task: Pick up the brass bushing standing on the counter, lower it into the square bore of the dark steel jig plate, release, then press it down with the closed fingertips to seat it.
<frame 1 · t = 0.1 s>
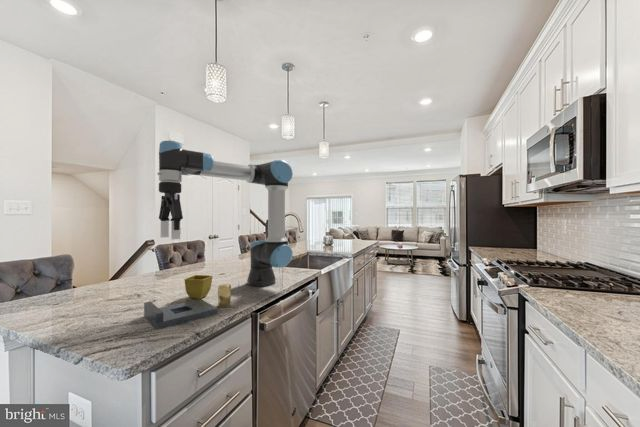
hand: (169, 238, 101), 28 cm above the counter, fingers open, 13 cm apart
jig: (181, 315, 97), on the counter
bushing: (224, 305, 108), on the counter
flower pot: (198, 297, 119), on the counter
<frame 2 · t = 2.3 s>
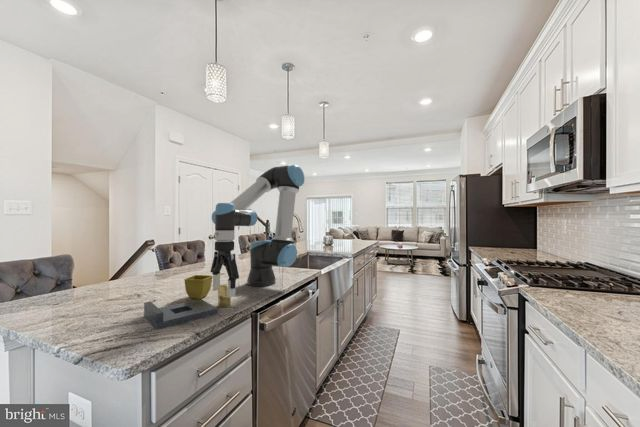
hand: (223, 293, 108), 5 cm above the counter, fingers open, 13 cm apart
nothing on the counter moved.
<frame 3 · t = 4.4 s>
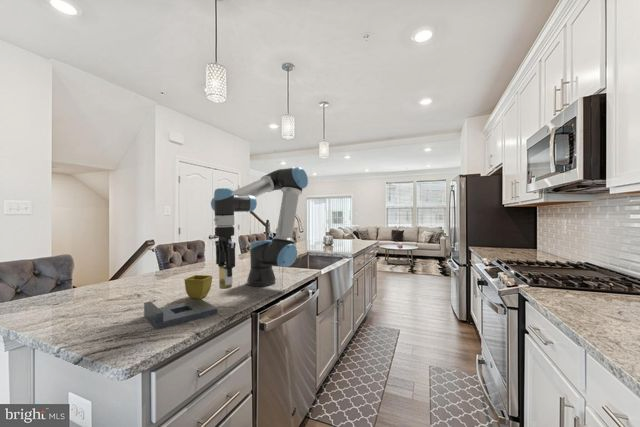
hand: (225, 283, 109), 9 cm above the counter, fingers closed on bushing, 5 cm apart
bushing: (225, 287, 109), point 7 cm above the counter, touching gripper
everything else where it was.
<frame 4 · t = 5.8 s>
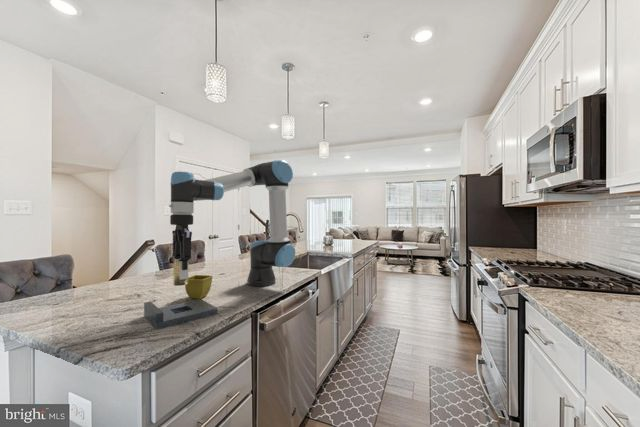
hand: (181, 277, 97), 14 cm above the counter, fingers closed on bushing, 5 cm apart
bushing: (180, 284, 97), point 11 cm above the counter, touching gripper
everything else where it was.
when the fingers open (3 cm above the counter, at t = 7.3 s): bushing stays where it is, resting in jig.
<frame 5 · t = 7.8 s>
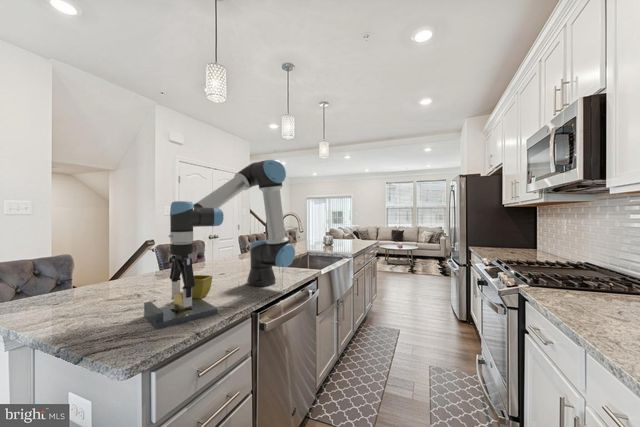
hand: (181, 302, 97), 5 cm above the counter, fingers open, 12 cm apart
bushing: (181, 315, 97), resting in jig
everything else where it was.
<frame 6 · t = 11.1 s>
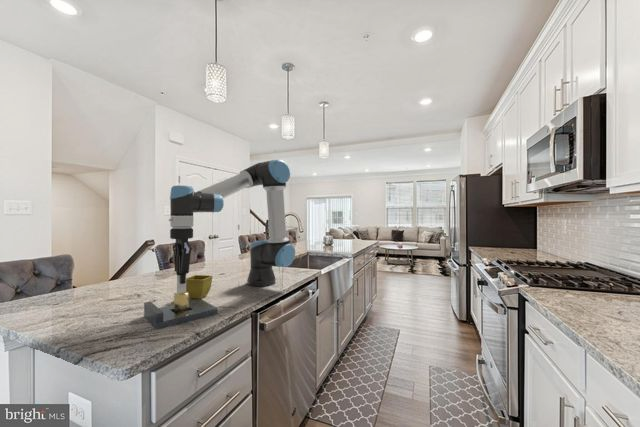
hand: (181, 292, 97), 8 cm above the counter, fingers closed
nothing on the counter moved.
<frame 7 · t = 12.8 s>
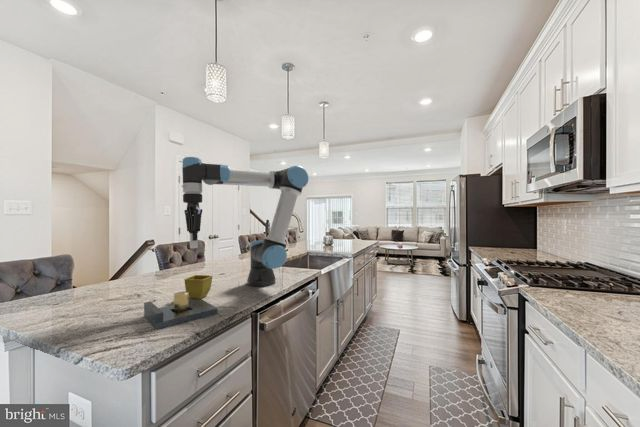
hand: (193, 248, 115), 23 cm above the counter, fingers closed
nothing on the counter moved.
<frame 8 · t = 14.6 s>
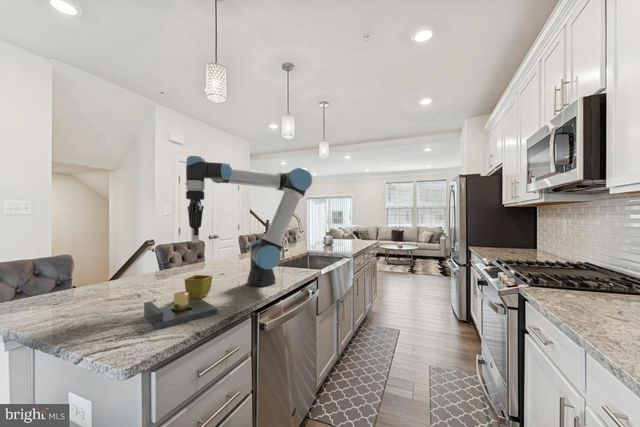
hand: (195, 242, 120), 24 cm above the counter, fingers closed
nothing on the counter moved.
at the end: bushing 0.0 cm off-centre on the jig, point 0.0 cm above the jig's base; bushing tilted 0°; the gripper is holding nothing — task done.
